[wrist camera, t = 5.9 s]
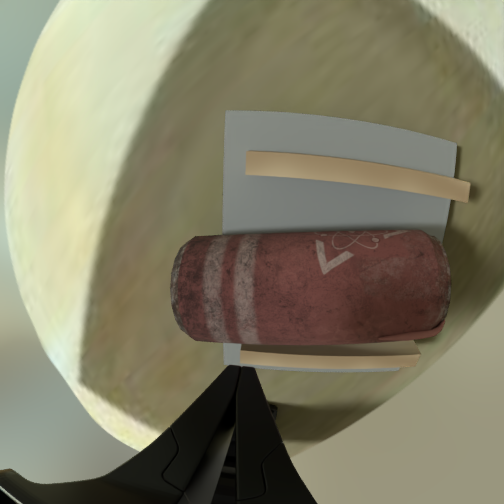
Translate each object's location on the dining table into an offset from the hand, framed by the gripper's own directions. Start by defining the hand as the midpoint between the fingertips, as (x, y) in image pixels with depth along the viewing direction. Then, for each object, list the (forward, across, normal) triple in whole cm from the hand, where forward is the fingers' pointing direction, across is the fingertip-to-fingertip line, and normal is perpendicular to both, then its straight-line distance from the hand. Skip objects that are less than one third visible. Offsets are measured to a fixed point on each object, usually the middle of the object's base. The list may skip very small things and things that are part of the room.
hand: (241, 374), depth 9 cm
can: (+7, +4, +1) cm, 9 cm away
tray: (+10, -5, 0) cm, 12 cm away
